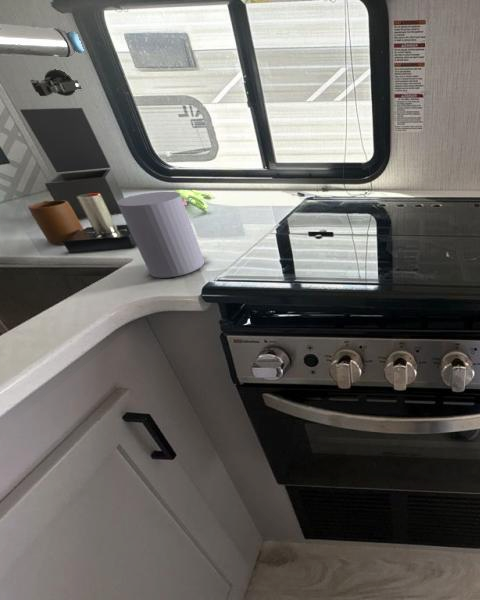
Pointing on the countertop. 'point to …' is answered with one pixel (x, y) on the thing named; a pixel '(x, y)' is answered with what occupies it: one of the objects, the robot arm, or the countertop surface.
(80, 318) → the countertop surface
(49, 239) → the mug
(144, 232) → the container
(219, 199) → the countertop surface
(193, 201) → the figurine
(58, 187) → the dark grey box
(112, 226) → the cream silver cylinder
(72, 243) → the panel
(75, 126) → the lid
